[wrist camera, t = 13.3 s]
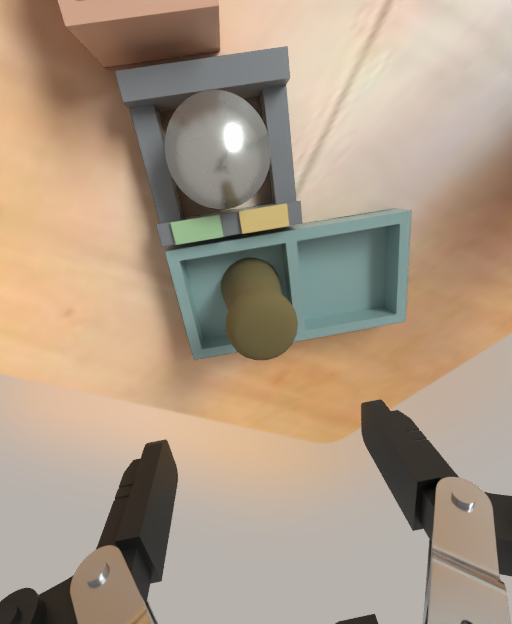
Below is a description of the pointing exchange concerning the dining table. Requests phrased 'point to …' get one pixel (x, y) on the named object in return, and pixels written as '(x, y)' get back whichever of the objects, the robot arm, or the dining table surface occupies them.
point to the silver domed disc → (217, 149)
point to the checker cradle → (170, 94)
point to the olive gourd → (257, 310)
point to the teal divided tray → (301, 276)
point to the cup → (143, 28)
